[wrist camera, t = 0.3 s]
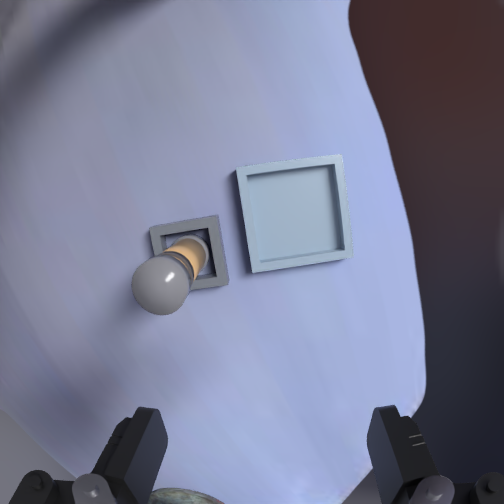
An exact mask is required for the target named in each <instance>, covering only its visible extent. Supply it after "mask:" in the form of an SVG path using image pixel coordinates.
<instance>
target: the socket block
mask: <svg viewBox="0 0 504 504" xmlns="http://www.w3.org/2000/svg"><path fill="white" fill-rule="evenodd" d="M202 228H208V229H209V235H210V241H211V247H212V252H213V258H214V263H215V269H216V273H213V274H206V275H199V276H197V277H196V279H195V280H194V282H193V284H192V286H191V289H190V290H194V289H202V288H209V287H216V286H224V285H228V283H229V276H228V270H227V264H226V258H225V253H224V247H223V241H222V235H221V229H220V223H219V217H218V215H214V216H208V217H202V218H196V219H190V220H184V221H179V222H173V223H167V224H162V225H156V226H153V227H150V228H149V230H150V235H151V240H152V245H153V250H154V255H155V256H156V255H158V254H160V253H162V252H164V251H165V250H166V249H167V245H166V240H165V235H166V234H172V233H178V232H184V231H190V230H196V229H202Z"/></svg>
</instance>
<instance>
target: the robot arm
mask: <svg viewBox="0 0 504 504" xmlns="http://www.w3.org/2000/svg"><path fill="white" fill-rule="evenodd" d="M167 444H168V436H167V432H166V429H165V426H164V423H163V420H162V417H161V414H160V411H159V410H158V409H153V408H146V407H138V408H137V410H136V412H135V414H134V415H133V417H132V418H128V417H126V418H125V419H124V420H122V421H121V422H120V423H119V424H118V425H117V426H116V428H115V430H114V431H113V433H112V437H110V439H109V441H108V444H106V446H105V448H104V450H103V452H102V454H101V456H100V457H99V459H98V461H97V463H96V465H95V467H94V469H93V470H92V472H91V473H90V474H84V475H82V476H80V477H78V478H77V479H76V480H75V481H61V480H53V479H52V478H51V476H50V475H49V474H48V473H46V472H45V471H42V470H34V471H31V472H29V473H27V474H26V475H25V476H24V478H23V479H22V481H21V483H20V484H19V486H18V488H17V490H16V491H15V493H14V495H13V497H12V498H11V500H10V502H9V504H147V503H148V500H149V497H150V495H151V492H152V489H153V486H154V483H155V480H156V477H157V475H158V472H159V469H160V466H161V463H162V460H163V457H164V455H165V452H166V449H167ZM367 447H368V451H369V455H370V459H371V462H372V466H373V470H374V474H375V477H376V481H377V485H378V489H379V493H380V497H381V502H382V504H504V476H503V475H501V474H499V473H496V472H495V473H494V472H492V473H487V474H485V475H483V476H482V477H481V478H480V479H479V480H478V481H477V482H474V483H452V482H451V481H450V480H449V479H448V478H446V477H443V476H440V474H439V473H438V470H437V468H436V466H435V463H434V461H433V459H432V456H431V454H430V452H429V450H428V447H427V445H426V444H425V441H424V438H423V436H421V432H420V430H419V428H418V425H417V423H415V422H414V421H413V420H412V419H411V418H410V417H409V416H403V417H400V414H399V412H398V410H397V408H396V406H395V405H390V406H384V407H377V408H375V409H374V411H373V415H372V419H371V422H370V426H369V430H368V433H367Z"/></svg>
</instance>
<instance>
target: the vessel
mask: <svg viewBox="0 0 504 504" xmlns="http://www.w3.org/2000/svg"><path fill="white" fill-rule="evenodd" d="M147 504H224V503H223V502H221V501H219V500H217V499H216V498H213V497H211V496H209V495H206V494H203V493H200V492H196V491H192V490H188V489H179V488H164V489H158V490H155V491H153V492H151V495H150V497H149V500H148V503H147Z"/></svg>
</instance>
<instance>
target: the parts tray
mask: <svg viewBox="0 0 504 504" xmlns="http://www.w3.org/2000/svg"><path fill="white" fill-rule="evenodd" d="M236 171H237V178H238V184H239V190H240V197H241V203H242V210H243V216H244V222H245V229H246V235H247V242H248V248H249V254H250V261H251V267H252V273H255V272H262V271H269V270H276V269H282V268H289V267H296V266H302V265H309V264H315V263H321V262H328V261H334V260H340V259H347V258H353V257H354V254H353V243H352V232H351V222H350V213H349V204H348V196H347V188H346V181H345V173H344V167H343V160H342V154H340V155H329V156H319V157H310V158H301V159H293V160H285V161H277V162H270V163H263V164H256V165H249V166H243V167H236Z"/></svg>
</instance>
